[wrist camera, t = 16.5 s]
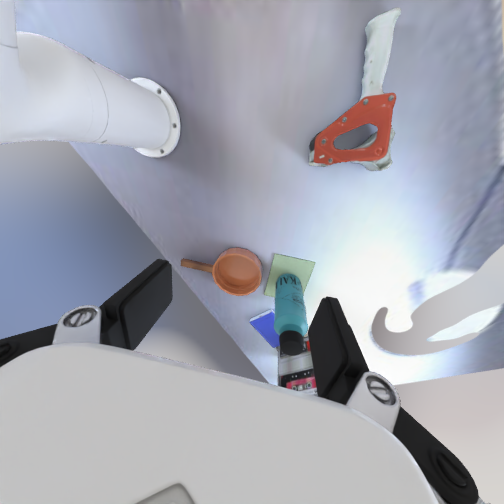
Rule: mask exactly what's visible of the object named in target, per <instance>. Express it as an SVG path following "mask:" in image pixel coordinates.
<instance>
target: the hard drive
mask: <svg viewBox="0 0 504 504" xmlns="http://www.w3.org/2000/svg"><path fill="white" fill-rule="evenodd" d="M274 316H275V312H274V311H273V310H272V309H270V310H268V311H266V312H264V313H262V314H260V315H258V316H255V317H253V318H251V319H250V321H249V322H250V323H251V325H252V326H253V327H254V328H255V329H256V330H257V331H258V332H259V333H260V334H261V335H262V336H263V337H264V338H265V340H266V341H267V342H268V343H269V344H270V345H271V346H272V347H273V348H275V347H278V346H280V343H279V335H278V334H277V333H276V332H275V330H274Z"/></svg>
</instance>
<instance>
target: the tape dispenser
mask: <svg viewBox="0 0 504 504" xmlns="http://www.w3.org/2000/svg"><path fill="white" fill-rule="evenodd" d="M400 13H401V9H400V8H394V9H392V10H390V11H387V12H385V13H382V14H380V15H378V16H376V17H375V18H374V19H372V20H371V21H370V22H369V23H368V25H367V26H366V28H365V33H366V36H367V46H366V49H365V64H364V67H363V69H364V76H363V79H362V95H361V98H360V100H359V102H358V103H356V104H355V105H354V106H353V107H352V108H350V109H349V110H348V111H347V112H345V113H344V114H343V115H342V116H340V117H339V118H338V119H337V120H336V121H335V122H333V123H332V124H331V125H329V126H328V127H327V128H326V129H324V130H323V131H322V132H320V133H318V134H317V135H316V136H315V137H314V138H313V139H312V141H311V143H310V156H309V165H310V166H320V167H325V166H328V165H332V164H334V163H338V162H339V163H341V162H348V161H350V162H351V163H359V164H362V165H363V166H365V167H366V169H367V170H370V171H379V170H385V169H388V168H389V167H390V166H391V164H392V160H391V154H390V148H391V143H392V140H393V138H394V135H395V132H394V130H393V128H391V127H392V125H391V121H392V113H393V107H394V104H395V100H396V94H395V93H386V94H385V93H384V92H383V90H382V84H383V80H384V77H385V74H386V70H387V66H388V62H389V57H390V52H391V47H392V40H393V32H394V26H395V23H396V20H397V18H398V17H399V15H400ZM368 123H371V124H373V125H375V126H377V127H378V132H375V133H374V134H372V135H370V137H369V138H368V139H367V140H366V141H365V142H364V143H363V144H362V145H360V146H358V147H356V148H353V149H350V150H346V149H345V150H340V149H336V148H335V147H334V144H333V143H334V140H335V139H336V138H337V136H338V135H341V134H343V133H346V132H348V131H350V130H352V129H355V128H357V127H359V126H362V125H364V124H368Z"/></svg>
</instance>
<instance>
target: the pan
mask: <svg viewBox="0 0 504 504" xmlns="http://www.w3.org/2000/svg"><path fill="white" fill-rule="evenodd" d="M262 272H263V269H262V265H261V262H260V260H259V259H258V257H257V256H256V255H255V254H253V253H252V252H250V251H249V250H247V249H242V248H231V249H227V250H226V251H224V252H223V253H221V254H220V256H219V257H218V259H217V261H216V262H215V264H214V265H213V271H212V275H213V278H214V281H215V283H216V284H217V285H218V286H219V288H220V289H221V290H223V291H225V292H227V293H228V294H232V295H236V296H243V295H248V294H250V293H252V292H254V291H255V290H256V289H257V288H258V287H259V285H260V282H261V278H262Z"/></svg>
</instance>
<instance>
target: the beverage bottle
mask: <svg viewBox="0 0 504 504" xmlns="http://www.w3.org/2000/svg"><path fill="white" fill-rule="evenodd" d="M275 285H276V287H275V288H276V291H275V302H274V303H275V316H274V330H275V332H276V333H277V334H278V335H279V343H280V349H281V351H282V352H283V353H284V354H286V355H289V356H296V355H299V354H301V353H302V352H303V349H304V339H303V336H304V335H305V334H306V333H307V331H308V324H307V319H306V310H305V308H306V307H305V305H304V303H305V302H304V299H303V291H302V290H303V288H302V286H301V281H300V280H299V278H298V277H297V276H296V275H294V274H283V275H281V276H280V277H279V278H278V279H277V281H276V282H275Z"/></svg>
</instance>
